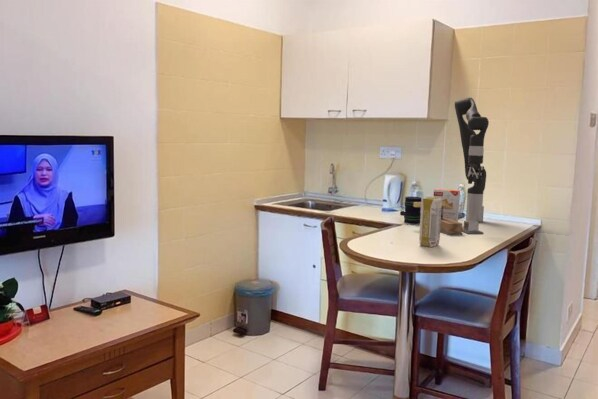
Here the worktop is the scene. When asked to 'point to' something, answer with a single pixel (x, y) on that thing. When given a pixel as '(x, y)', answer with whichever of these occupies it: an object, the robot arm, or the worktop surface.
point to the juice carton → (430, 221)
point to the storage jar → (412, 210)
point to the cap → (471, 226)
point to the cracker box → (449, 202)
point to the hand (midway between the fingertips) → (474, 184)
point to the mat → (472, 232)
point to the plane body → (450, 227)
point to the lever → (418, 204)
